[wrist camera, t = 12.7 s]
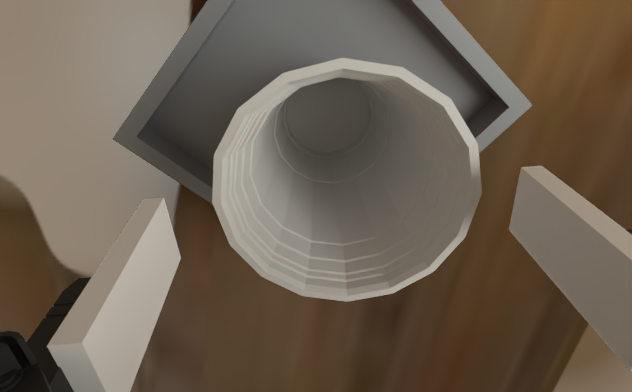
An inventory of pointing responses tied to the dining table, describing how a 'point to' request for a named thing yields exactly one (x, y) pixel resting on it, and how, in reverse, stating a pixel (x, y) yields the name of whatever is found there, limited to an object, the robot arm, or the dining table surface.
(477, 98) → the tray
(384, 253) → the plastic cup
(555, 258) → the robot arm
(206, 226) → the dining table surface
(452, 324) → the dining table surface
